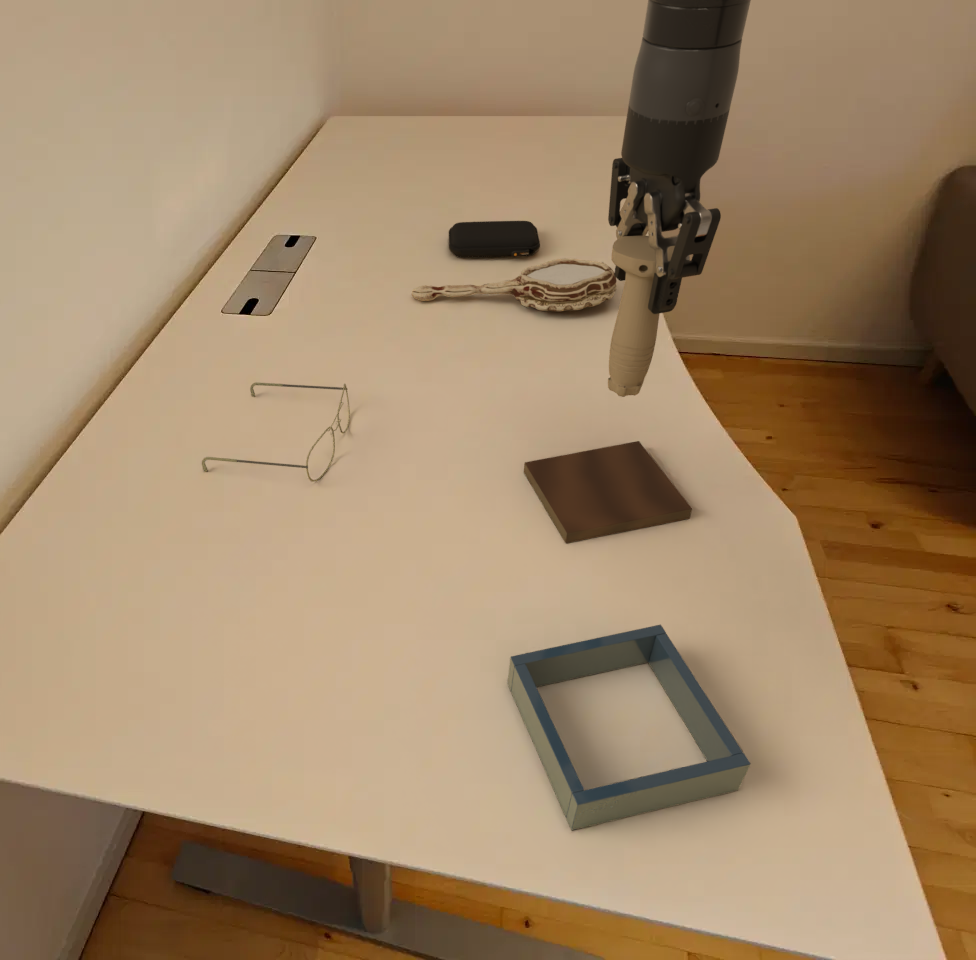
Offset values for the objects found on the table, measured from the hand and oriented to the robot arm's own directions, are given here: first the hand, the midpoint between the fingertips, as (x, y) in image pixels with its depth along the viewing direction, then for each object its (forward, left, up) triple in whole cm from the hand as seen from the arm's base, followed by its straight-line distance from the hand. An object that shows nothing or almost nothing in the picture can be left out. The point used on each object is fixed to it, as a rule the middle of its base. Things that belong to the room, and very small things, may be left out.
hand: (642, 293), depth 76 cm
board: (0, 0, -25) cm, 25 cm away
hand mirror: (-6, -44, -25) cm, 51 cm away
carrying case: (-9, -61, -25) cm, 67 cm away
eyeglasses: (+33, -20, -25) cm, 46 cm away
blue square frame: (+12, +28, -25) cm, 39 cm away
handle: (0, 0, -11) cm, 11 cm away
